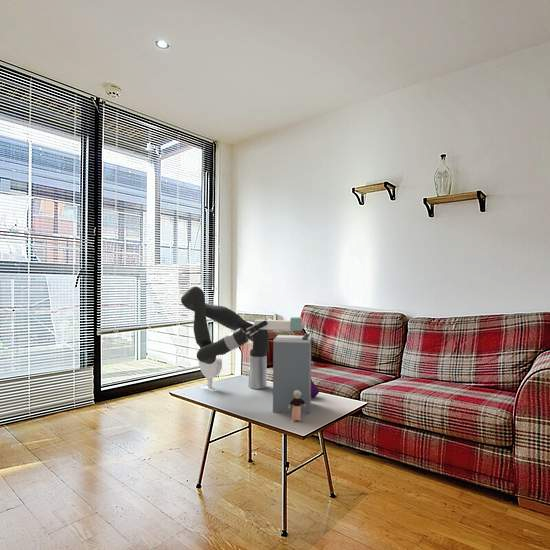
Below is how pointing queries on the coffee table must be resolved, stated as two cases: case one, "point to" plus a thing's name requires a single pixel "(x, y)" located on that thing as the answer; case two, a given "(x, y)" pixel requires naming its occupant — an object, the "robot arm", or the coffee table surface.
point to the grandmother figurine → (296, 406)
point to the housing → (291, 371)
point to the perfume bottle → (313, 387)
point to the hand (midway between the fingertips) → (267, 321)
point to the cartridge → (282, 324)
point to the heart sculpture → (211, 371)
